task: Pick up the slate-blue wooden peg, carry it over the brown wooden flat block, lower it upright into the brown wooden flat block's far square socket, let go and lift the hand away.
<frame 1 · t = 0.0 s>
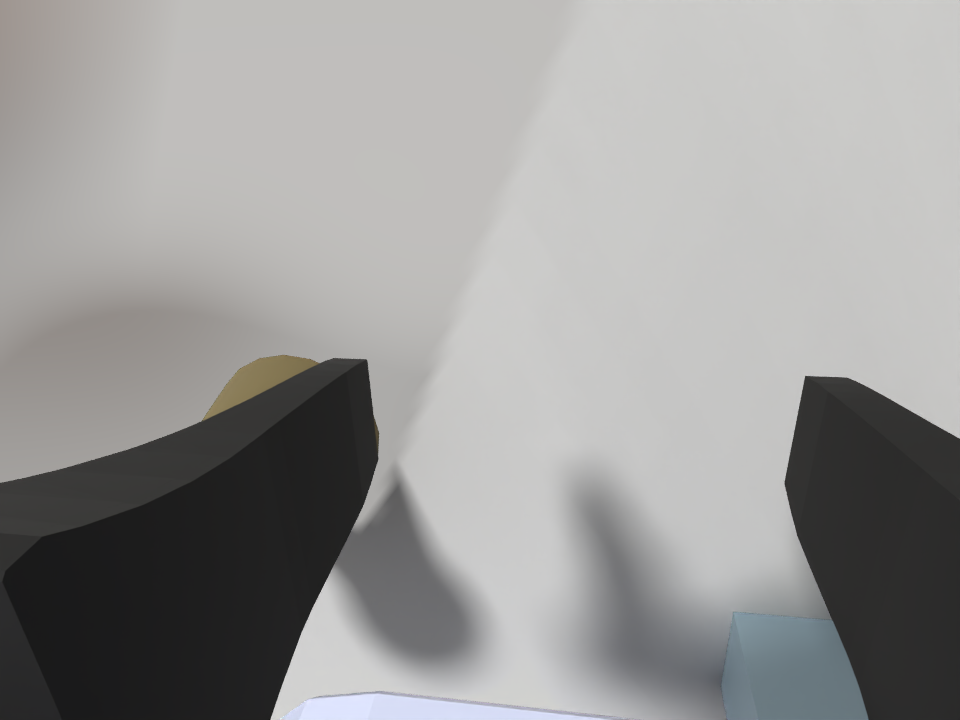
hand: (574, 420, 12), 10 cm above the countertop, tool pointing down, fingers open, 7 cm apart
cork: (300, 427, 25), on the countertop
peg: (781, 655, 26), on the countertop
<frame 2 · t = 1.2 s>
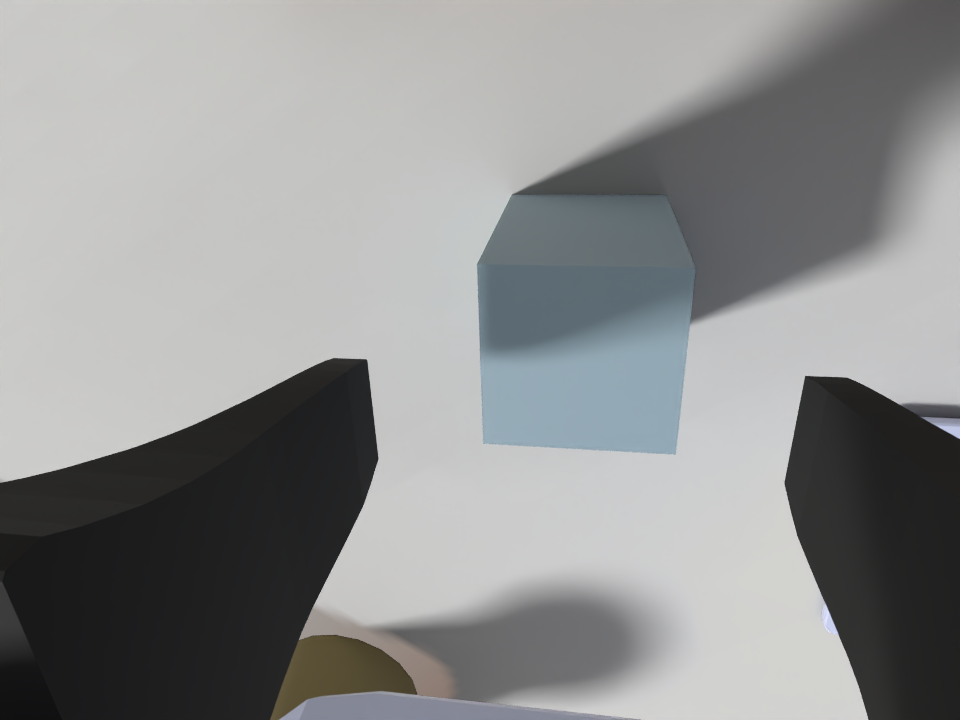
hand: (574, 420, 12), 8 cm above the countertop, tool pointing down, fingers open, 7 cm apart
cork: (347, 685, 28), on the countertop
peg: (585, 267, 19), on the countertop
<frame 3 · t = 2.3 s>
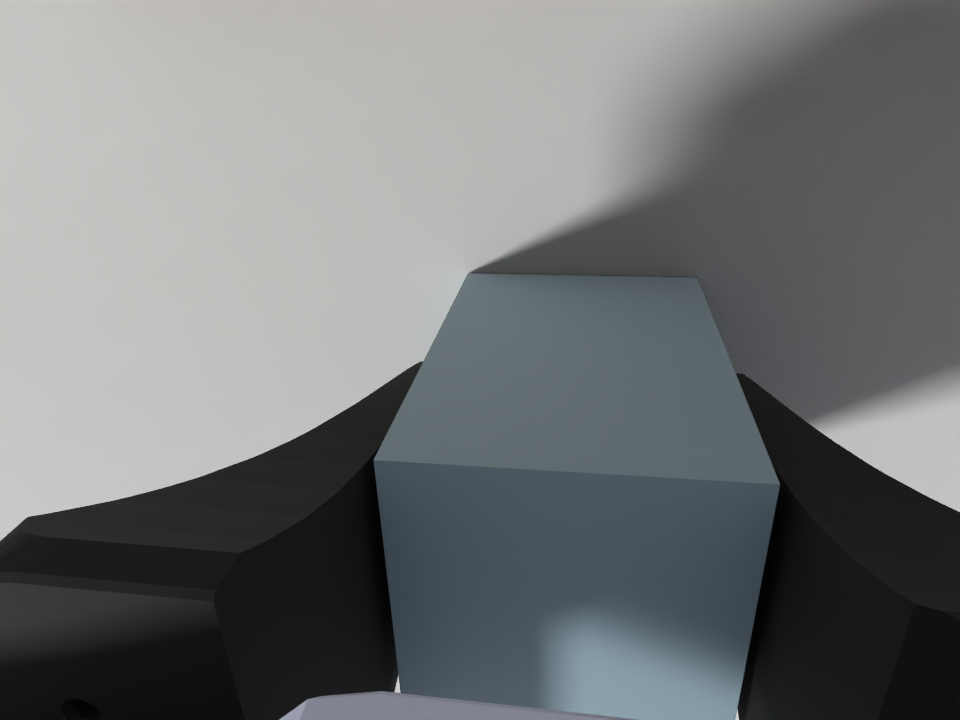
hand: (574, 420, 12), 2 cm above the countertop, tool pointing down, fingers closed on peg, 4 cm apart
peg: (576, 376, 13), on the countertop, touching gripper
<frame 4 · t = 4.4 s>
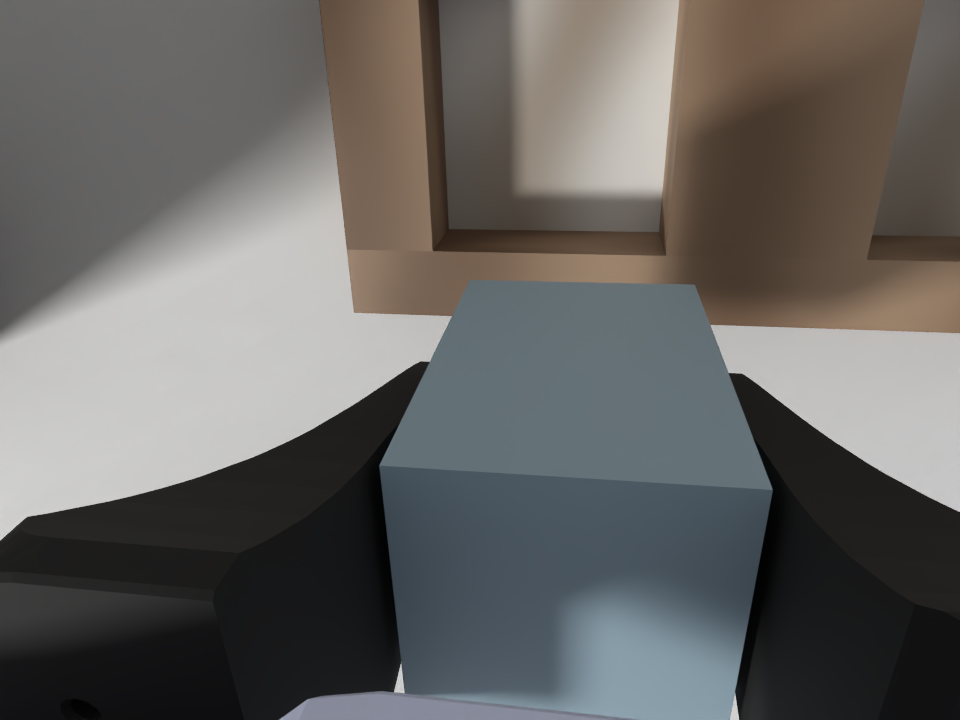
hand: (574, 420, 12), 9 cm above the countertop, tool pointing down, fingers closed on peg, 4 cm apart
peg: (576, 380, 13), point 7 cm above the countertop, touching gripper
brown wooden flat block: (759, 116, 17), on the countertop
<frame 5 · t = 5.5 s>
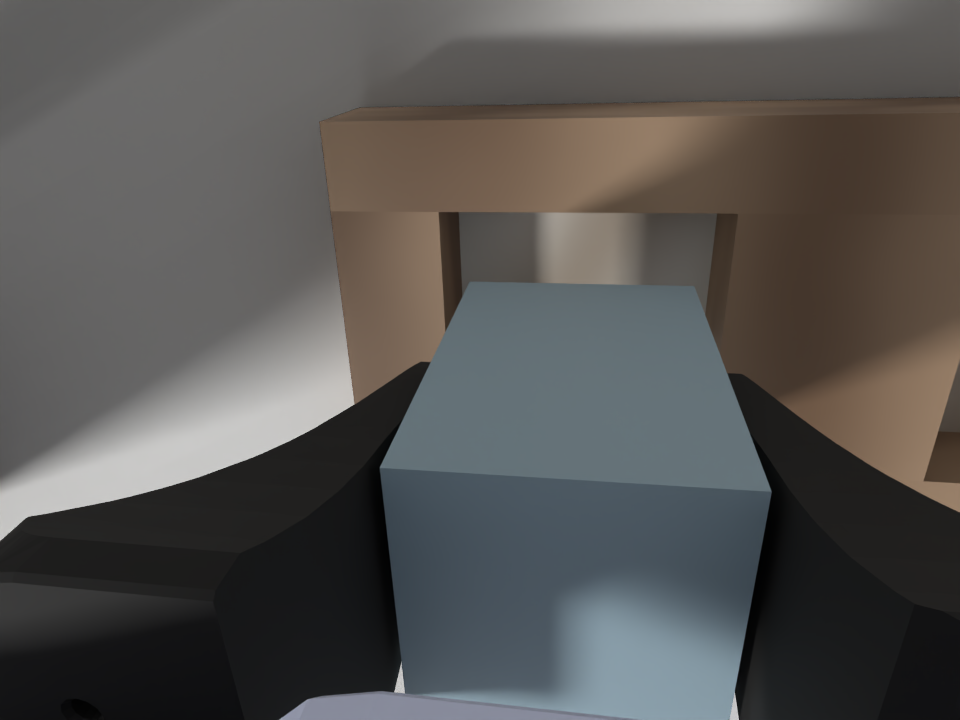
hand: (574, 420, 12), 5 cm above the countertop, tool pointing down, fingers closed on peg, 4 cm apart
peg: (576, 382, 13), point 4 cm above the countertop, touching gripper
brown wooden flat block: (802, 309, 16), on the countertop
when the fingers open (3 cm above the countertop, at t = 6.4 s): peg stays where it is, resting on brown wooden flat block.
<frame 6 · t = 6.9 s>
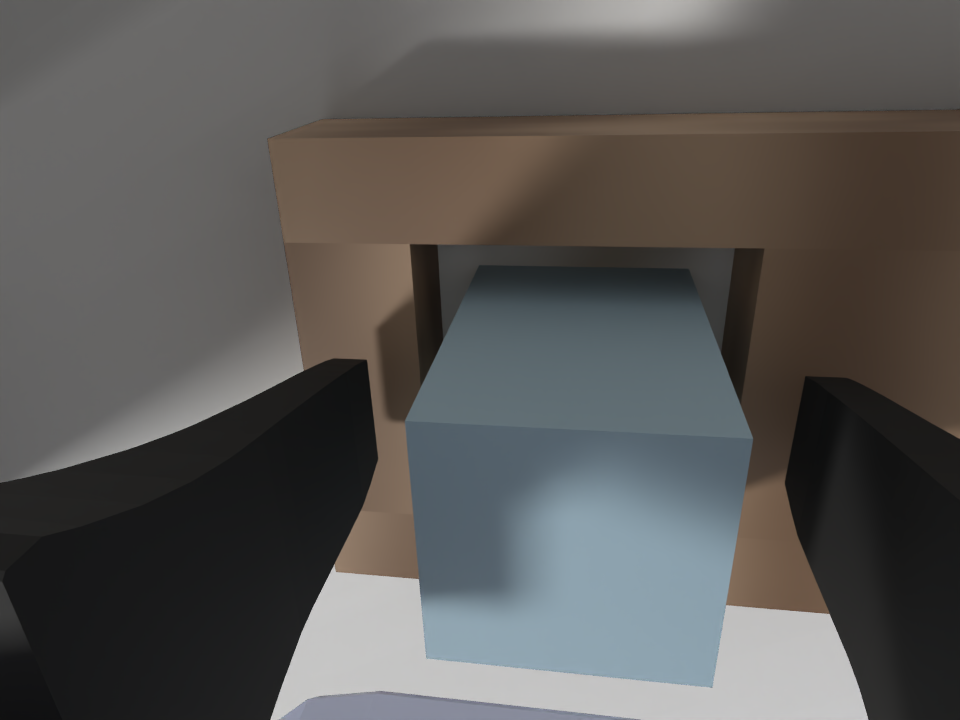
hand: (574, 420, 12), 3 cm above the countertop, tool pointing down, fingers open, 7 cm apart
peg: (578, 360, 14), resting on brown wooden flat block
brown wooden flat block: (832, 350, 14), on the countertop
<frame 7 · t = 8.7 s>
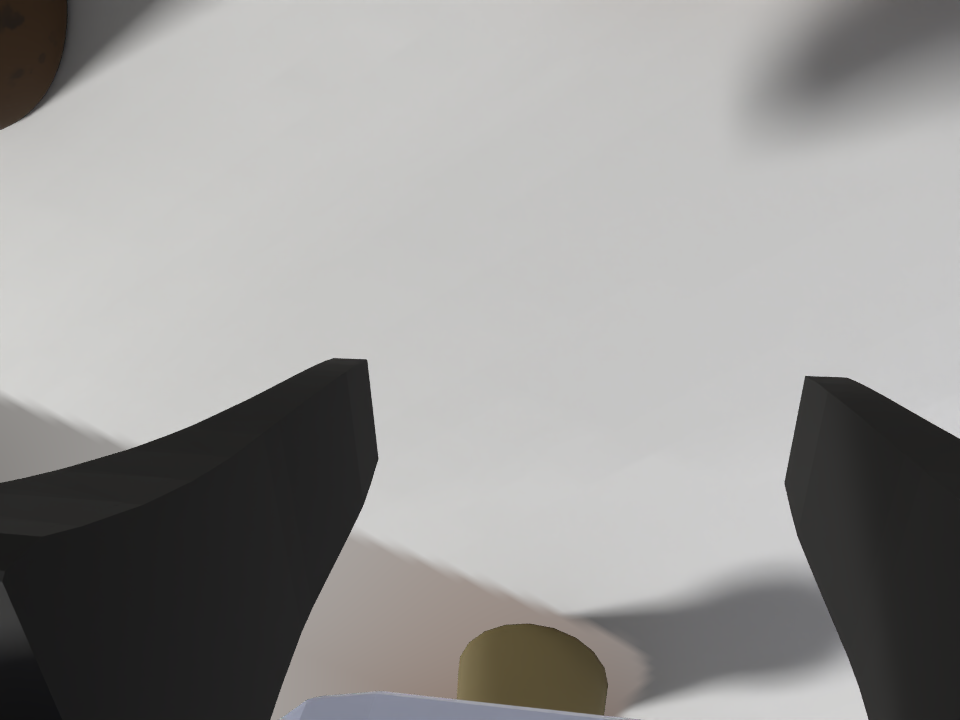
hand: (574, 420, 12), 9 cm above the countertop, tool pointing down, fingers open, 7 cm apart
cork: (532, 674, 28), on the countertop
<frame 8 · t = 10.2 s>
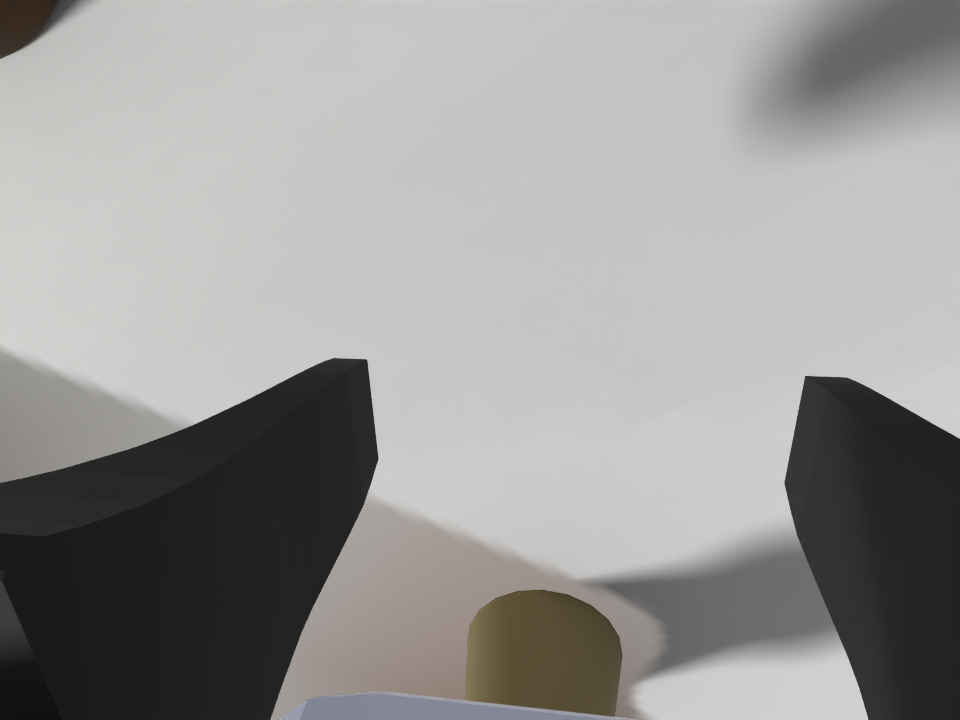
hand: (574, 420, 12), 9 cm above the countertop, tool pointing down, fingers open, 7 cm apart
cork: (543, 644, 27), on the countertop
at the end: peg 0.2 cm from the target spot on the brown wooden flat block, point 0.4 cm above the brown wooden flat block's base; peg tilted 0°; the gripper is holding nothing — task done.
